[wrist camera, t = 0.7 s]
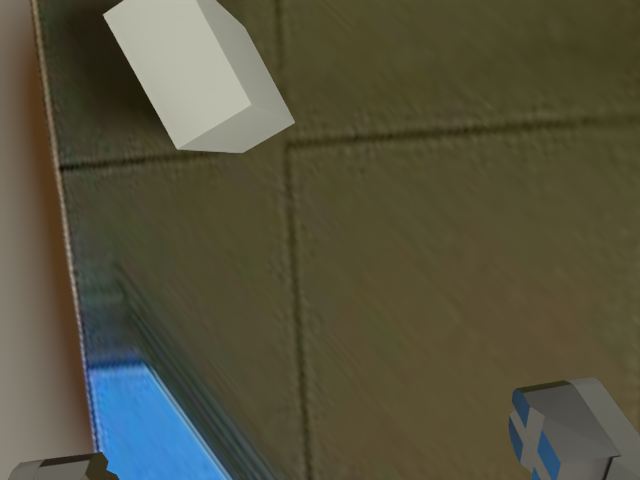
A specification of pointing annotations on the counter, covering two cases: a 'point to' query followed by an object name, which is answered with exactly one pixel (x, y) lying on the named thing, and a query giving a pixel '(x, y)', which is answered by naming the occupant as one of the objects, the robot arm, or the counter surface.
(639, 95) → the counter surface
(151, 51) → the boxed book
